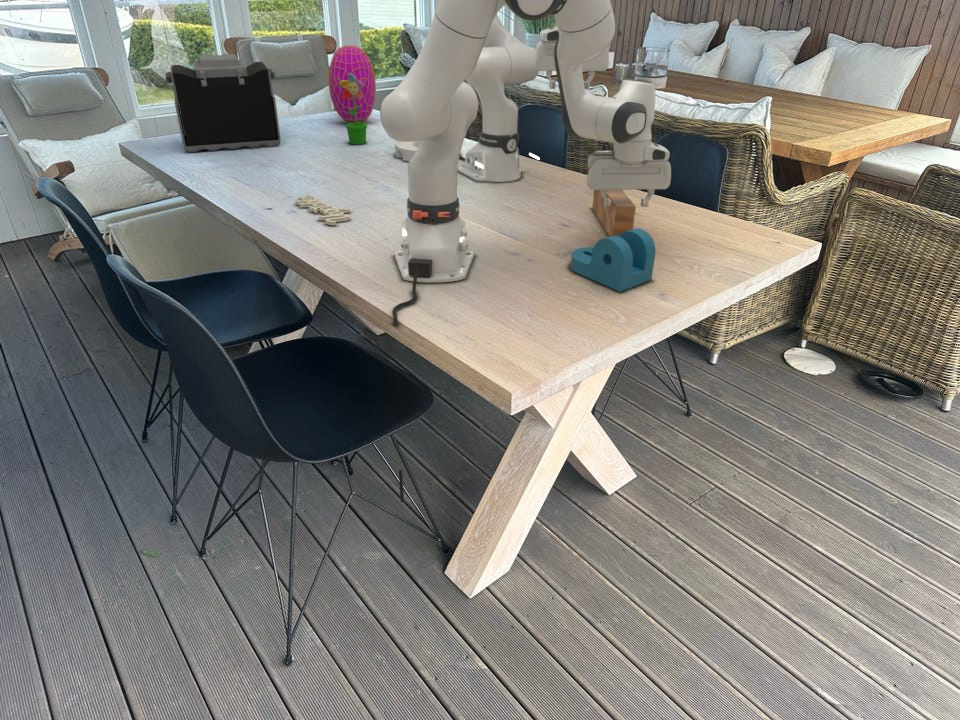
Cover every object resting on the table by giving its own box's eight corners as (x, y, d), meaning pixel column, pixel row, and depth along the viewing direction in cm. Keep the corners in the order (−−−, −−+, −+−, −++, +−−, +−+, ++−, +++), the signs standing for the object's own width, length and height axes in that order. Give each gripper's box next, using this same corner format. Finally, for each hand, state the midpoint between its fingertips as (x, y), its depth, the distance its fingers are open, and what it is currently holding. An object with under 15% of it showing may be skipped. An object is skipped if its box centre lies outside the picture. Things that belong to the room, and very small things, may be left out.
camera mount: (651, 279, 153) (658, 234, 148) (620, 291, 148) (626, 245, 142) (592, 255, 165) (596, 213, 160) (561, 266, 160) (564, 222, 154)
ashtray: (453, 164, 236) (453, 152, 234) (387, 161, 239) (387, 149, 237) (465, 148, 256) (465, 137, 254) (404, 145, 259) (404, 134, 257)
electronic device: (278, 133, 274) (267, 51, 259) (285, 146, 256) (274, 59, 241) (180, 140, 262) (162, 54, 247) (180, 153, 244) (161, 62, 229)
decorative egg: (362, 116, 305) (357, 42, 290) (386, 123, 292) (382, 46, 277) (324, 121, 294) (316, 45, 279) (347, 129, 281) (340, 49, 266)
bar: (631, 242, 174) (635, 206, 169) (612, 242, 174) (616, 206, 169) (608, 208, 197) (611, 176, 193) (592, 208, 197) (595, 176, 192)
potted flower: (342, 144, 260) (336, 73, 247) (351, 139, 266) (346, 70, 254) (365, 146, 257) (360, 74, 245) (374, 141, 264) (369, 71, 251)
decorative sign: (363, 215, 186) (329, 222, 181) (363, 219, 186) (330, 226, 181) (319, 192, 204) (287, 198, 198) (319, 195, 204) (288, 201, 199)
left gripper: (590, 153, 162) (586, 210, 169) (676, 152, 163) (668, 209, 170) (586, 147, 168) (582, 203, 175) (669, 146, 168) (662, 202, 175)
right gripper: (609, 32, 186) (604, 86, 193) (534, 31, 185) (531, 86, 192) (614, 34, 180) (608, 90, 187) (537, 34, 179) (534, 90, 186)
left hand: (625, 206), depth 172 cm, fingers open, 8 cm apart
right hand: (569, 88), depth 189 cm, fingers open, 8 cm apart
